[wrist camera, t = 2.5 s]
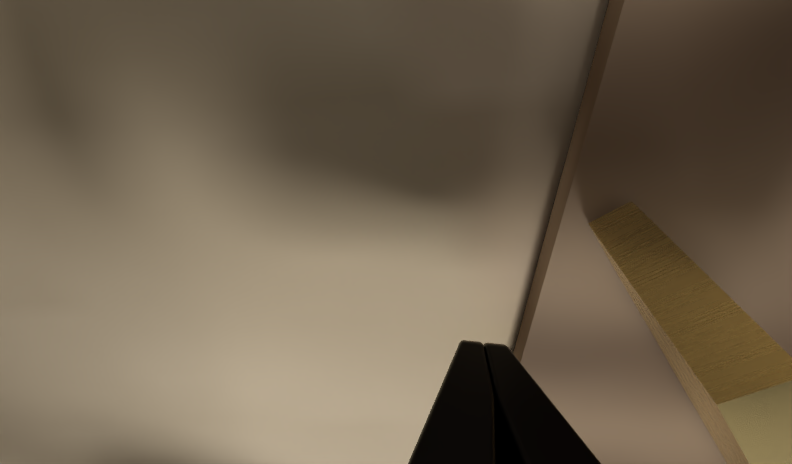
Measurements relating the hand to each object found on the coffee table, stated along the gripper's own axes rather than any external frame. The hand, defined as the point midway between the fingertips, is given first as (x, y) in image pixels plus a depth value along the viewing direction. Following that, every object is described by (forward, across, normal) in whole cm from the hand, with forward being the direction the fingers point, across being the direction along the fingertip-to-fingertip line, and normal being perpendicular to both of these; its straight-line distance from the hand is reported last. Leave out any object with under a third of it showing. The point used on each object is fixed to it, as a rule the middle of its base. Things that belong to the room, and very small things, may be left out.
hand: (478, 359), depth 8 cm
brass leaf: (+3, -7, +3) cm, 8 cm away
